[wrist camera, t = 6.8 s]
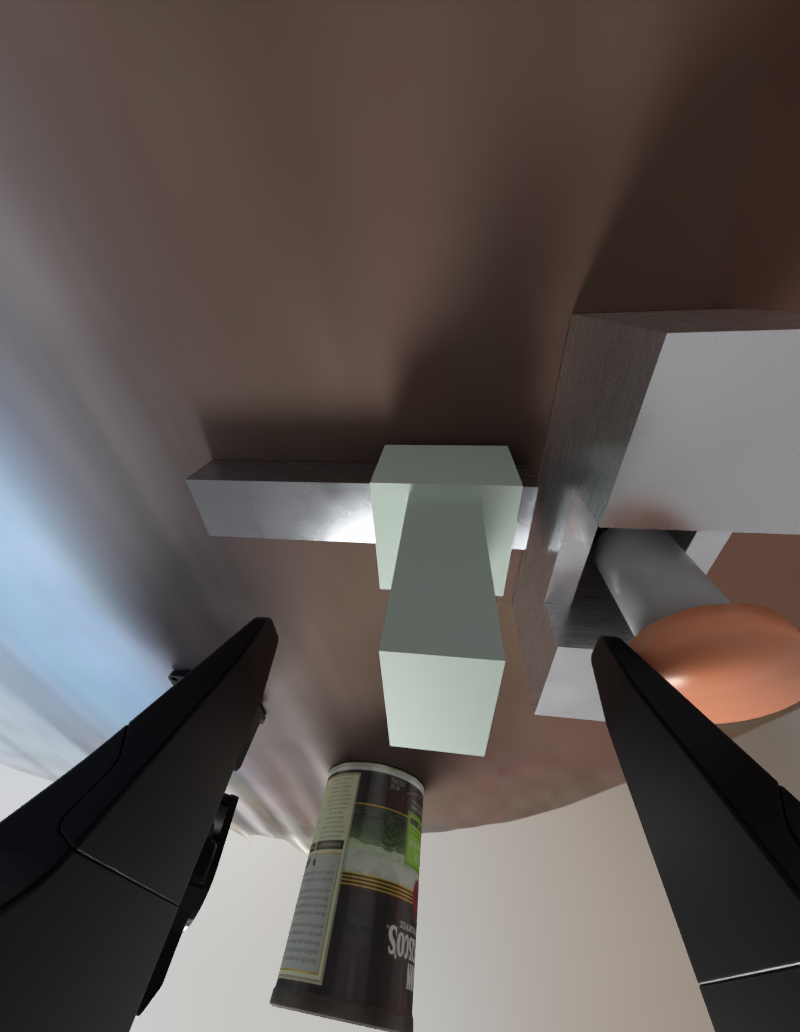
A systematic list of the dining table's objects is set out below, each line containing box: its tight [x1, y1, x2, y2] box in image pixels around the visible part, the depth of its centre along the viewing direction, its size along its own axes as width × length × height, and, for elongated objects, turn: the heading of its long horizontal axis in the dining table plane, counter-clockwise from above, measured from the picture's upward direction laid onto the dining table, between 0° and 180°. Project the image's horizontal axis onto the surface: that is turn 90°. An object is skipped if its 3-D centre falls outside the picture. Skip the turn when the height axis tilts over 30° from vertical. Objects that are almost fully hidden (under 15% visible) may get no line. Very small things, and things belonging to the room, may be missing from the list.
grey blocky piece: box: [512, 308, 800, 721], centre depth 12 cm, size 5×14×6 cm, turn 3°
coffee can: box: [270, 762, 424, 1032], centre depth 30 cm, size 10×10×14 cm
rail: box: [185, 460, 539, 550], centre depth 15 cm, size 14×3×2 cm, turn 93°
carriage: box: [370, 445, 523, 756], centre depth 12 cm, size 5×5×9 cm
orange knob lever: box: [592, 528, 800, 724], centre depth 10 cm, size 4×4×5 cm
